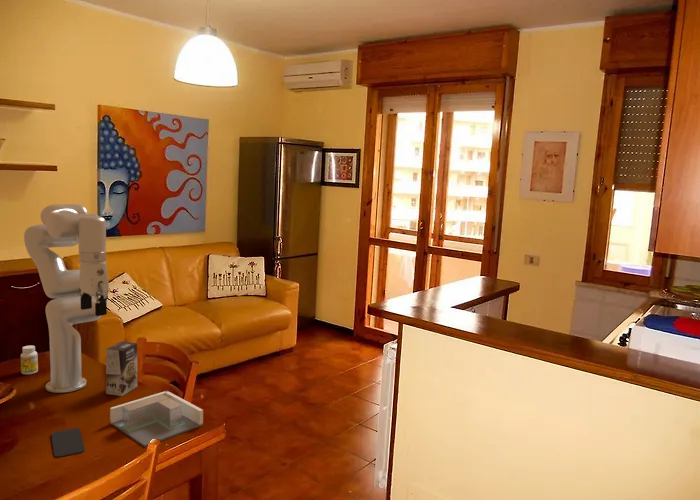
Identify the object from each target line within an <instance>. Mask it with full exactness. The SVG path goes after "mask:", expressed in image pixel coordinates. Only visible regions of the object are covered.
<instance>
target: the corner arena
mask: <svg viewBox="0 0 700 500" xmlns="http://www.w3.org/2000/svg"><path fill="white" fill-rule="evenodd" d="M161 394H163V395H165V396H166V397H168V398H170V399H172V400H174V401H176V402H177V403H179V404H181V405H182V424H180V425H177V426H174V427H172V428H169V427H168V426H166V425H164V424H163V423H161V422H159V421H158V420H157V421H154V422H151V423H148V424H146V425H143V426H140V427H137V428H134V429H131V430H129V429H127V428H126V427H124V426H123V410H122V406H126V405H129V404H132V403H135V402H139V401H142V400H145V399H148V398H152V397H155V396H158V395H161ZM109 411H110V412H109V419H110V420H109V421H110V425H112V426H113V427H114V428H116V429H117V430H119V431H121V432H122V433H124V434H125V435H126V436H128V437H129V438H131V439H132V440H134V441H135V442H136V443H138V444H140V445H141V446H142V447H144V448H147V447H148V446H147V445H148V443H149V442H150V441H151V440H152V439H159V440H160V442H162V441H165V440H167V439H170V438H173V437H176V436H178V435H182V434H185V433H187V432H189V431H191V430H194V429H197V428H199V427H202V426H203V425H204V409H202V408H201V407H199V406H196V405H195V404H193V403H191V402H189V401H187V400H185V399H183V398H182V397H180V396H178V395H176V394H174V393H172V392H170V391H169V390H164V391H162V392H159V393H158V392H157V393H154V394H152V395H148V396H145V397H141V398H139V399H135V400H132V401H129V402H125V403H122V404H118V405H116V406H112V407H110V408H109Z"/></svg>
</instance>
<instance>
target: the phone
mask: <svg viewBox="0 0 700 500" xmlns="http://www.w3.org/2000/svg"><path fill="white" fill-rule="evenodd" d="M50 437H51V444H52V449H53V456H54V458H56V459H57V458H59V459H60V458H64V457H68V456H73V455H79V454H82V453H84V452H86V451H85V450H86V449H85V444H84V441H83V437H82V433H81V429H80V428H78V427H74V428H68V429H63V430H57V431H54V432H51V434H50Z"/></svg>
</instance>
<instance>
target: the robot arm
mask: <svg viewBox="0 0 700 500" xmlns="http://www.w3.org/2000/svg"><path fill="white" fill-rule="evenodd" d="M39 218H40V221H41V222H42V224H40V223H39V224H34V225H31V226H29V227H27V228H26V229H25V231H24V232H23V233H24V234H23V240H24V241H23V243H24V246H25V249H26V251H27V253H28V256H29V257H30V258H31V261H33V263H34V264H35V266H36V268H37V271H38V275H39V278H40V282H41V284H42V288H43V292H44V293H45V295H46V297H48V298H50V299H51V300H50V301H48V302H47V304H46V306H45V315H46V317H45V318H46V321H47V326H48V327H47V328H48V336H49V337H48V338H49V361H50V367H49V368H50V381H48V382H47V383H46V384H45V389H46V391H47V392H49V393H50V392H51V393H55V394H57V393H59V394H63V393H70V392H71V393H72V392H75V391H78V390H81V389H83V388H85V387H86V386H87V379H86V378H85V377H82V340H81V339H82V338H81V337H82V336H81V334H80V332H79V331H78V330H77V329H76V328H75V327H73V325H76V324H83V323H88V322H94V321H97V320H99V319H101V317H102V316H105V315H107V314H108V313H107V312H108V310H107V307H108V306H107V302H108V298H109V297H108V295H109V293H110V289H109V288H110V287H109V273H108V267H107V222H106V221H107V220H106V219H105V218H104V217H102V216H99V215H98V214H96V213H89V212H88V210H87V208H86V207H84V205H82V204H74V203H73V204H69V203H68V204H67V203H66V204H59V203H58V204H50V205H47V206H46V207H44V208H43V209H42V210H41V212H40V217H39ZM77 245H78V263H79V269H67V267H66V264H65V262H64V261H65V260H63V258H62V257H61V256H60V255H59V254H57V253H56V252H54V250H51V249H52V248H64V247H65V248H67V247H75V246H77ZM50 248H51V249H50Z"/></svg>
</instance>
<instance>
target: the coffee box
mask: <svg viewBox="0 0 700 500" xmlns="http://www.w3.org/2000/svg"><path fill="white" fill-rule="evenodd" d="M105 351H106V352H105V355H106V357H105V361H106V362H105V373H106V374H105V378H106V380H105V381H106V383H105V385H106V386H105V387H106V388H105V389H106V390H105V395H112V396H118V397H123V396H125V395H126V394H128V393H129V392H131V391H132V390H134V389H136V388H138V343H136V342H130V341H129V342H128V341H119V342H117V343H116V344H114V345H112V346H109V347H107V348H106V349H105Z"/></svg>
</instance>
